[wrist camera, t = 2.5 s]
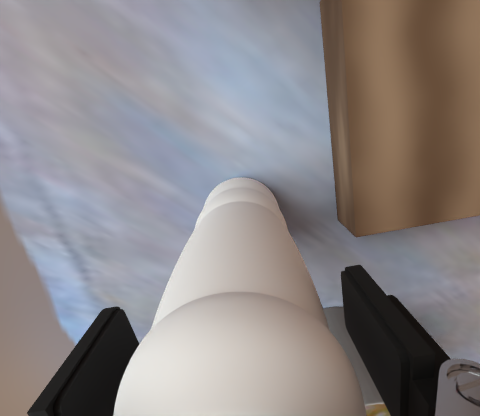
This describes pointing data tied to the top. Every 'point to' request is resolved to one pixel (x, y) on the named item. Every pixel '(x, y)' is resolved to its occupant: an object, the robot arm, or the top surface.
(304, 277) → the water bottle
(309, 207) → the top surface
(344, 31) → the walnut stand
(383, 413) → the coffee mug
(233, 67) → the top surface
